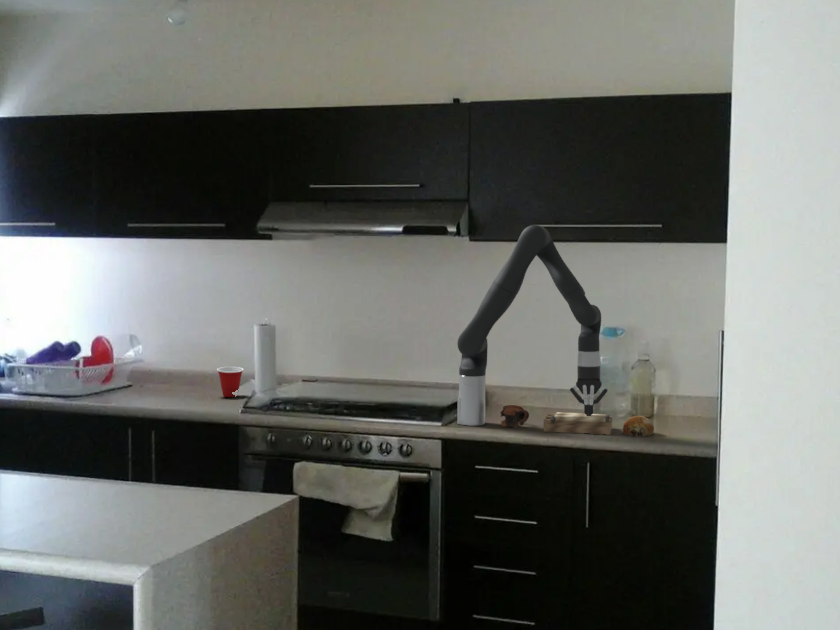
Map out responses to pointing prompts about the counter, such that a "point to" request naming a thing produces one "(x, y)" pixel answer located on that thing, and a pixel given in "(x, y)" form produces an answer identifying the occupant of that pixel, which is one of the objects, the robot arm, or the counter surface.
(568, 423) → the wooden slat frame
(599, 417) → the hinged leg
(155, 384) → the counter surface
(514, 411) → the pottery mug
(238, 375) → the plastic cup
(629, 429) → the bread roll
